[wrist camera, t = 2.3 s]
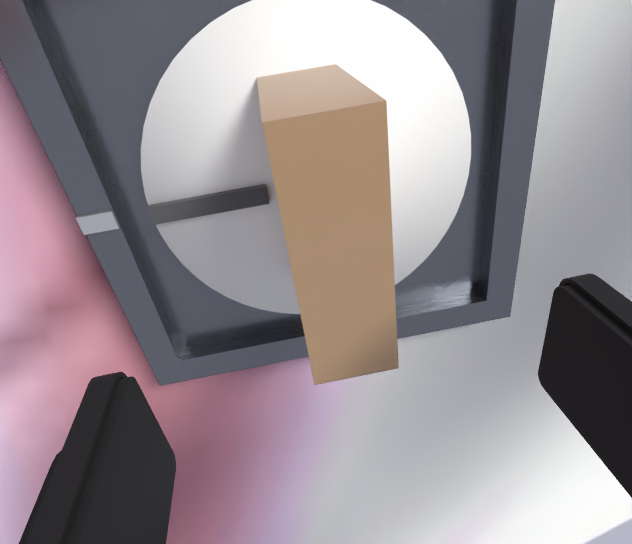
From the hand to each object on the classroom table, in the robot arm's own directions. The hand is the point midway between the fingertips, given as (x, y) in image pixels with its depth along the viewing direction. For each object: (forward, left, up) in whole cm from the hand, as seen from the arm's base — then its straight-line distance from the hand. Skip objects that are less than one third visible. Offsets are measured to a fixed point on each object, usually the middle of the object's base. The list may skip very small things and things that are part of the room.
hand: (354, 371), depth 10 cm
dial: (-1, 0, -12) cm, 12 cm away
